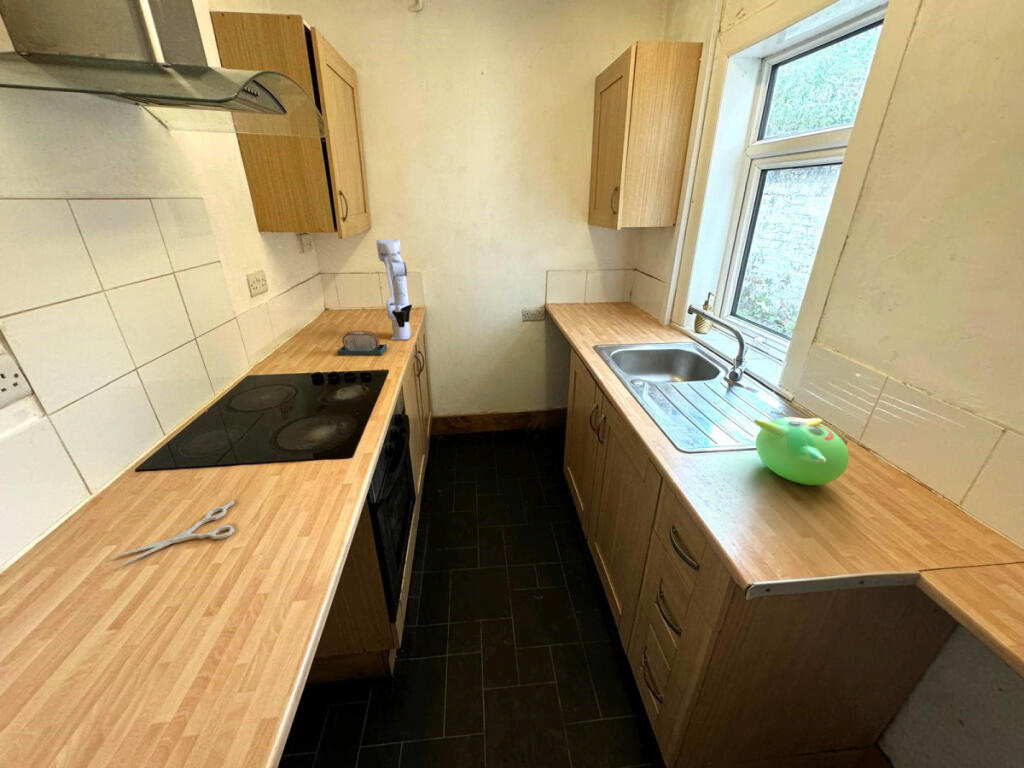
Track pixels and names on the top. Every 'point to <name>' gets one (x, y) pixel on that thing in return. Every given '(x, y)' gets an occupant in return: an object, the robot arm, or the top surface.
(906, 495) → the top surface
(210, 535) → the scissors
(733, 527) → the top surface
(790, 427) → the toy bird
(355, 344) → the tin
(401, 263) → the robot arm
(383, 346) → the tray
